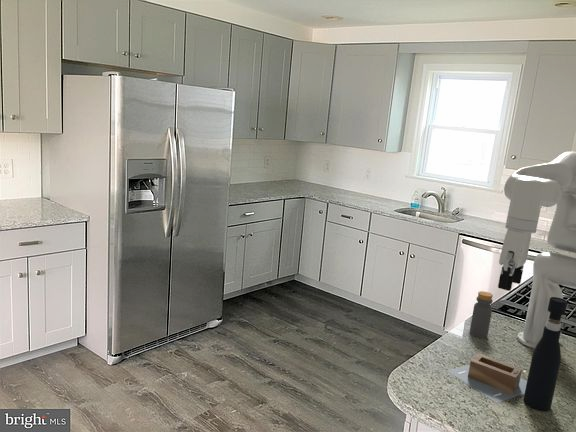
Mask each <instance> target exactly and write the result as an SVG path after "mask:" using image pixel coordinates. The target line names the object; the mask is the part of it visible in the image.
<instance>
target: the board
mask: <svg viewBox="0 0 576 432" xmlns="http://www.w3.org/2000/svg"><path fill="white" fill-rule="evenodd" d="M469 367H470V364H467V365H463V366H459V367H455V368H452V369H448V370H446V372H447V373H449V374H450V375H452V376H454V377H455V378H457V379H459V380H460V381H462V382H463V383H464V384H466V385H468V386H469V387H470V388H473V389H474V390H476V391H477V392H479V393H480V394H481V395H483V396H485V397H487V398H488V399H489V400H491V401H492V402H494V403H496V404H499V403H501V402H504V401H508V400H511V399H513V398H516V397H521V396H522V395H523V396H524V394H525V389H526V384H527V379H524V378H522V377H520V382H519V386H518V387H517V389H516V390H515V392H514V393H513V395H512V394H510V393H507V392H504V391H502V390H499V389H497V388H494V387H492V386H489V385H487V384H484V383H482V382H479V381H476V380H474V379H471V378H469V377H468V372H469Z"/></svg>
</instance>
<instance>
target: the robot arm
mask: <svg viewBox="0 0 576 432" xmlns="http://www.w3.org/2000/svg"><path fill="white" fill-rule="evenodd" d="M503 187H504V188H503V193H504V195H505V198H507V199H508V200H509V206H508V212H507V217H506V222H505V229H506V234H505V236H504V238H503V239H504V240H503V243H502V247H501V251H500V252H501V253H500V255H499V260H498V264H499V265H500V266H502V267H501V270H500V275H499V279H498V285H497V288H498V289H501V290H503V291H504V290H505V291H509V292H510V291H511V290H512V285H513V283H514V284H517V285H519V284H521V282H522V277H523V272H524V265H525V264H526V261H527V259H528V254H529V249H530V244H531V239H532V234H536V233H537V228H538V224H539V218H540V214H541V208H542V207H544V208H551V207H553V206H556V208H555V211H554V214H553V219H552V222H551V224H550V228H549V229H548V235H547V238H546V239H547V245H548V246H549V247H551V248H552V249H554V250H558V251H562V252H565V253H570V254H575V255H576V151H565V152H563V153H561V154H560V155H558V156H556V157H555V158H553V160H551V161H550V162H548V163H540V164H535V165H530V166H525V167H521V168H519V169H517V170H516V171H515V172H513V173H512V174H511V175H510V176H509V177H508V178H507V179H506V181H505V184H504V186H503ZM532 268H533V269H532V272H533V273H532V274H533V275H532V276H533V277H532V284H531V285H532V286H531V291H530V297H529V301H528V302H529V303H528V307H527V312H526V317H525V323H524V328H523V331H519V333H517V336H516V339H517V341H518V342H519V343H521V344H522V345H524V346H526V347H529V348H531V349H533V350H534V349H535V347H536V345H537V344H538V342H539V341H540V339H541V338H542V335H543V331H544V327H545V326H546V324H547V323H546V322H547V320H548V319H549V316H550V312H549V311H548V305H549V300H550V298H551V297H558V298H562V299H564V294H563V292H562V289H561V287H560V286H559V285H561V286H563V287H567V288H570V289H575V290H576V257H572V256H569V255H565V254H561V253H556V252H552V251H551V252H550V251H543V252H540V253H538V254H537V255H536V256H535V258H534V261H533V266H532ZM561 335H562V333H561V334H560V336H561Z"/></svg>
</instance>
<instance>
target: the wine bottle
mask: <svg viewBox="0 0 576 432" xmlns="http://www.w3.org/2000/svg"><path fill="white" fill-rule="evenodd" d="M567 306H568V301H567V300H566V299H564V298H563V299H562V298H558V297H551V298H550V300H549V305H548V311H549V312H550V316H549V319H548V320H547V322H546V323H547V324H546V326H545V327H544V331H543V335H542V338H541V339H540V341H539V342H538V344H537V345H536V347H535V349H533V352H532V356H531V359H530V365H529V369H528V374H527V375H528V376H527V379H526V381H527V384H526V389H525V394H523V403H524V404H525V405H526V407H529V408H530V409H532V410H534V411H537V412H538V411H539V412H549V411H551V409H552V404H553V400H554V394H555V391H556V390H555V389H556V385H557V381H558V376H559V372H560V367H561V363H562V361H561V360H562V352H561V346H560V336H561V335H562V331H561V326H562V322H561V320H562V316H565V315H566V311H567ZM560 334H561V335H560Z"/></svg>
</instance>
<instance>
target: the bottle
mask: <svg viewBox="0 0 576 432" xmlns="http://www.w3.org/2000/svg"><path fill="white" fill-rule="evenodd" d="M477 294H478V295H477V296H476V298H475V299H476V301H477V302H475V303H474V305H473V311H472V316H471V320H470V321H471V322H470V327H469V328H470V329H469V334H470V335H471V336H472V337H475V338H477V339H478V338H479V339H487V337H488V334H489V330H490V324H491V319H492V314H493V313H492V312H493V306H492V304H493V295H494V294H493V293H490V292H488V291H483V290H481V291H478V293H477Z"/></svg>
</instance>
